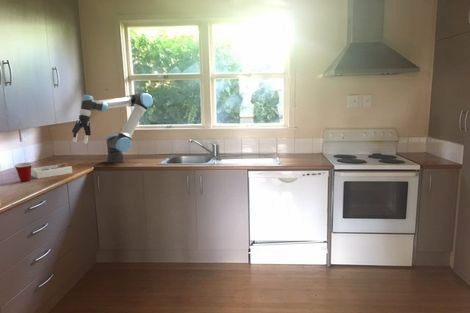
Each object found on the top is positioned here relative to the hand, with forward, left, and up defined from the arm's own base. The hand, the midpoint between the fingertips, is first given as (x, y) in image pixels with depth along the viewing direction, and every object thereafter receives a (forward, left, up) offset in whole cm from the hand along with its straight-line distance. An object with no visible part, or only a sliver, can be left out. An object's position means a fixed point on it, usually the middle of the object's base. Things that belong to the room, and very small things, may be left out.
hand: (79, 142), depth 275 cm
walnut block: (+14, 0, -18) cm, 23 cm away
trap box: (+22, -3, -21) cm, 30 cm away
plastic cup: (+42, +7, -21) cm, 47 cm away
